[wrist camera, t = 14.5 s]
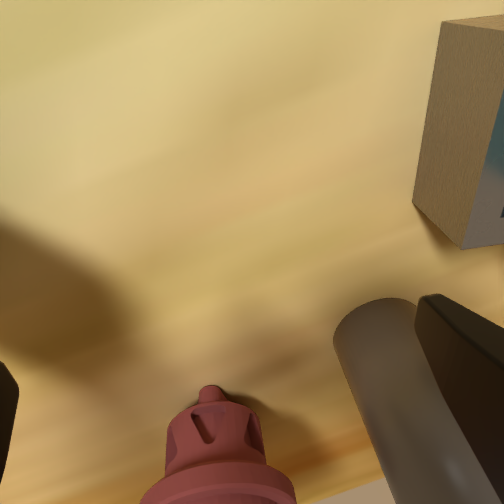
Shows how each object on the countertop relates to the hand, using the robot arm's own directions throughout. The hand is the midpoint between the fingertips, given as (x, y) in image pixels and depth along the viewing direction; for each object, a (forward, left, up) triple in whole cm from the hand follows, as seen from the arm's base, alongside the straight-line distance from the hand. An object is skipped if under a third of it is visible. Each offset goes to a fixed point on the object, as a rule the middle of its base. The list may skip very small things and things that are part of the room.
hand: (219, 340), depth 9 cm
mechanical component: (+5, -21, -13) cm, 25 cm away
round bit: (+15, -11, -13) cm, 23 cm away
